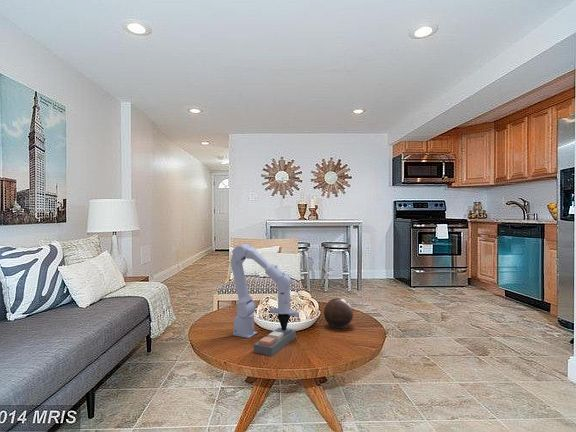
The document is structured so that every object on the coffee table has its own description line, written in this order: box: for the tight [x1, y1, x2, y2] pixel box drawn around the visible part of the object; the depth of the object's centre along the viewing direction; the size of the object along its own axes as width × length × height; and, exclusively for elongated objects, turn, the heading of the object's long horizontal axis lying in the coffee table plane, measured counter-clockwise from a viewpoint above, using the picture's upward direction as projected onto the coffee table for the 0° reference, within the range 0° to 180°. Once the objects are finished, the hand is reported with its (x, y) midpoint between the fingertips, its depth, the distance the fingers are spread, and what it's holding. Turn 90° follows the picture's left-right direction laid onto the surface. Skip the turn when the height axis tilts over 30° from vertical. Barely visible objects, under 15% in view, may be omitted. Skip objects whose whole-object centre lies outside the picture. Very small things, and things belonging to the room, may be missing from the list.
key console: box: [253, 327, 297, 357], centre depth 156 cm, size 9×24×4 cm, turn 154°
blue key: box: [276, 327, 292, 334], centre depth 164 cm, size 5×5×2 cm
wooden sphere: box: [323, 297, 354, 329], centre depth 180 cm, size 15×15×15 cm
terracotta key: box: [258, 336, 275, 346], centre depth 149 cm, size 5×5×2 cm
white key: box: [267, 330, 283, 340], centre depth 156 cm, size 5×5×2 cm
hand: (284, 329), depth 164 cm, fingers closed, pressing on blue key
